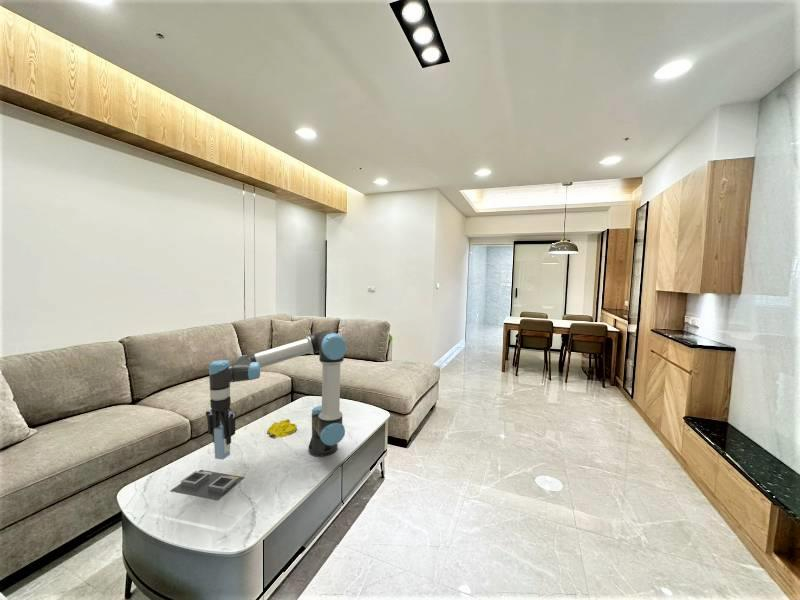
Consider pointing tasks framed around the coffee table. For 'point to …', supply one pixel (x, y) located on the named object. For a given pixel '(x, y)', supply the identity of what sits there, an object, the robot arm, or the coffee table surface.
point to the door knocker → (282, 428)
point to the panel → (207, 484)
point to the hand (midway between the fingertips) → (222, 450)
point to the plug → (220, 443)
